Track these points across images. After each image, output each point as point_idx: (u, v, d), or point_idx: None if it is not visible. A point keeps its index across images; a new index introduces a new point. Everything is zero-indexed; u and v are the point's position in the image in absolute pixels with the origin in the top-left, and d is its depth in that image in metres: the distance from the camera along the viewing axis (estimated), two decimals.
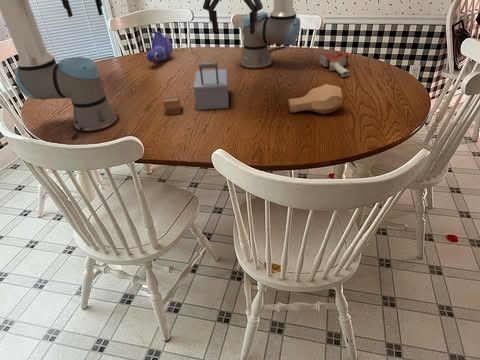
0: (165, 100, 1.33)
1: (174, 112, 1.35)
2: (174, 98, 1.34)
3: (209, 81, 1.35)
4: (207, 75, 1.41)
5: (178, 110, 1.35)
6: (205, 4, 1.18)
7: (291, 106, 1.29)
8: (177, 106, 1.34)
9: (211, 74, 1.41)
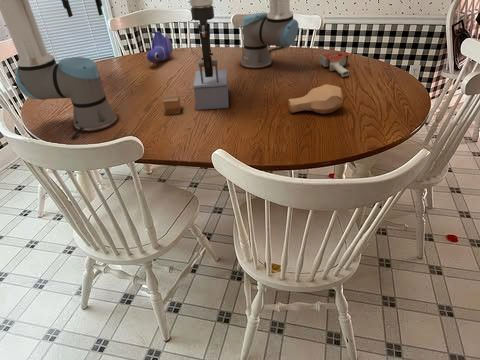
0: (165, 100, 1.33)
1: (174, 112, 1.35)
2: (174, 98, 1.34)
3: (209, 80, 1.35)
4: None
5: (178, 110, 1.35)
6: (209, 54, 1.23)
7: (291, 106, 1.29)
8: (177, 106, 1.34)
9: None
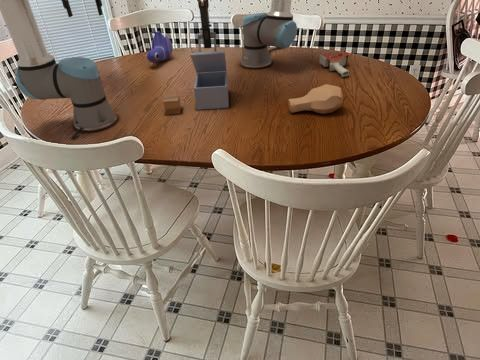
0: (165, 100, 1.33)
1: (174, 112, 1.35)
2: (174, 98, 1.34)
3: None
4: None
5: (178, 110, 1.35)
6: (208, 23, 1.25)
7: (291, 106, 1.29)
8: (177, 106, 1.34)
9: None
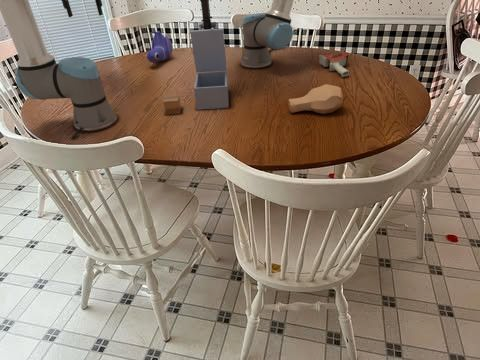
0: (165, 100, 1.33)
1: (174, 112, 1.35)
2: (174, 98, 1.34)
3: None
4: None
5: (178, 110, 1.35)
6: (209, 15, 1.33)
7: (291, 106, 1.29)
8: (177, 106, 1.34)
9: None
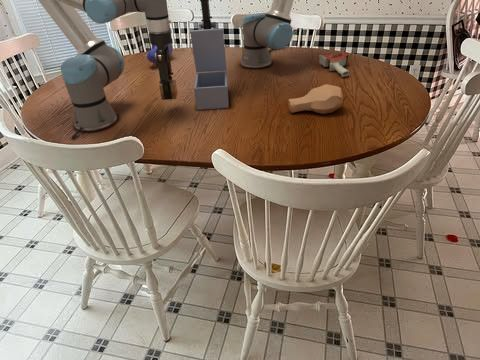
0: (161, 84, 1.30)
1: None
2: (170, 83, 1.30)
3: None
4: None
5: (174, 95, 1.31)
6: (209, 15, 1.33)
7: (291, 106, 1.29)
8: (173, 91, 1.30)
9: None
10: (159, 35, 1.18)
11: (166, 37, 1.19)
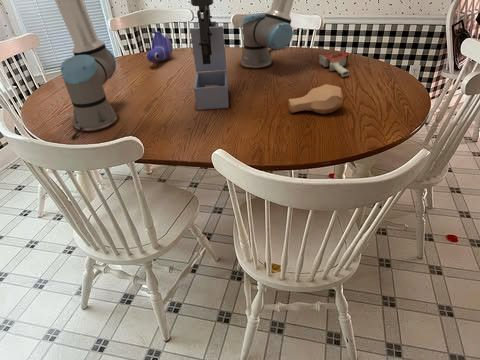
0: None
1: None
2: None
3: None
4: None
5: None
6: None
7: (291, 106, 1.29)
8: None
9: None
10: None
11: None
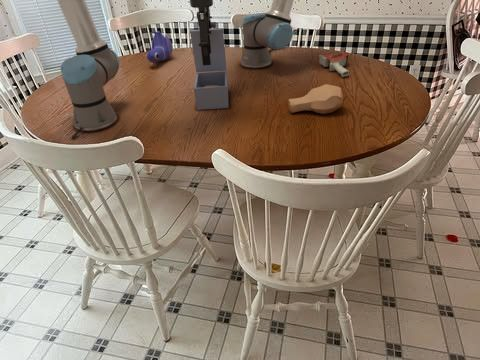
0: None
1: None
2: None
3: None
4: None
5: None
6: None
7: (291, 106, 1.29)
8: None
9: None
10: None
11: None
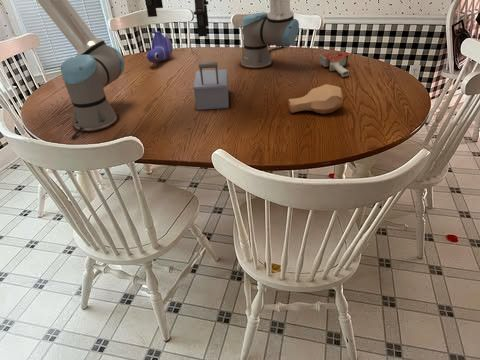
0: None
1: None
2: None
3: (209, 81, 1.35)
4: (207, 75, 1.41)
5: None
6: (203, 7, 1.06)
7: (291, 106, 1.29)
8: None
9: (211, 74, 1.41)
10: None
11: None
